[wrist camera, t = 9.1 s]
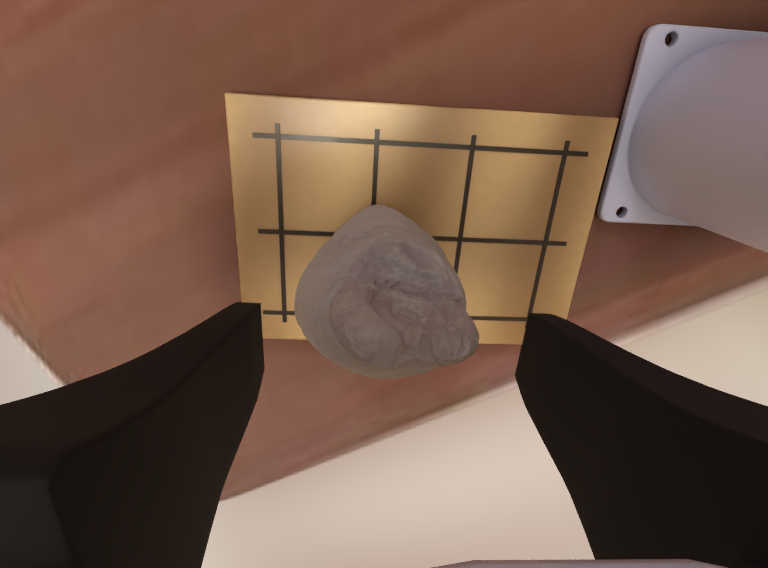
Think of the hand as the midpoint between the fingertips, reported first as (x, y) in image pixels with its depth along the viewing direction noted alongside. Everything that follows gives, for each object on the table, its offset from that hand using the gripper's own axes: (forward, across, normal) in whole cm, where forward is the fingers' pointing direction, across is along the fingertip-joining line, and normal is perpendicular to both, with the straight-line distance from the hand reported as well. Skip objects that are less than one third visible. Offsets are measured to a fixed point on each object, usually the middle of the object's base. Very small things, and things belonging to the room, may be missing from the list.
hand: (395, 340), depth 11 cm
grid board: (+10, -2, 0) cm, 10 cm away
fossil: (+9, +1, 0) cm, 9 cm away
